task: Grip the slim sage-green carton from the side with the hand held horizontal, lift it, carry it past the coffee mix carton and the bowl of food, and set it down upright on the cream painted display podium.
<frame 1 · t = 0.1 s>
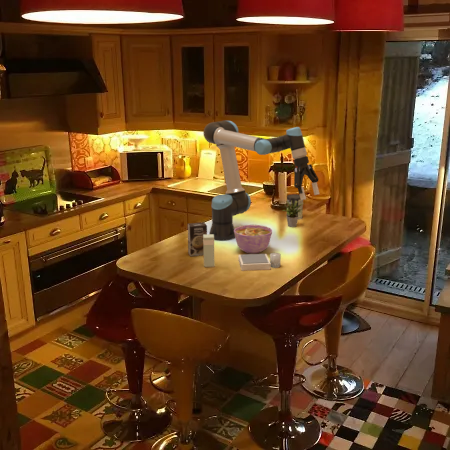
hand: (310, 197, 279), 28 cm above the breakfast bar, tool tilted 20°, fingers open, 13 cm apart
podium: (254, 264, 263), on the breakfast bar
coffee can: (294, 217, 344), on the breakfast bar
house plant: (293, 227, 325), on the breakfast bar
coffee box: (197, 254, 279), on the breakfast bar
white rounded capsule: (275, 266, 261), on the breakfast bar
bowl of food: (252, 251, 282), on the breakfast bar
slim carton: (209, 265, 263), on the breakfast bar
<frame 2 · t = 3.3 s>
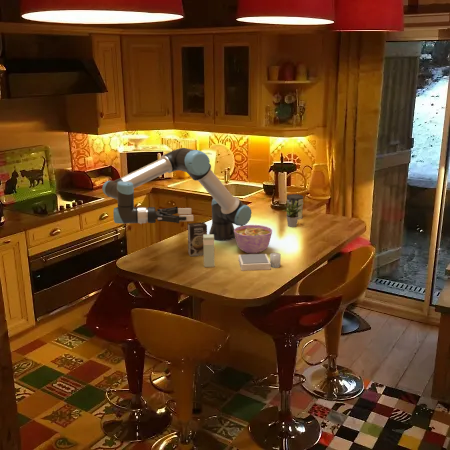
hand: (192, 214, 255), 26 cm above the breakfast bar, tool horizontal, fingers open, 13 cm apart
nothing on the breakfast bar moved.
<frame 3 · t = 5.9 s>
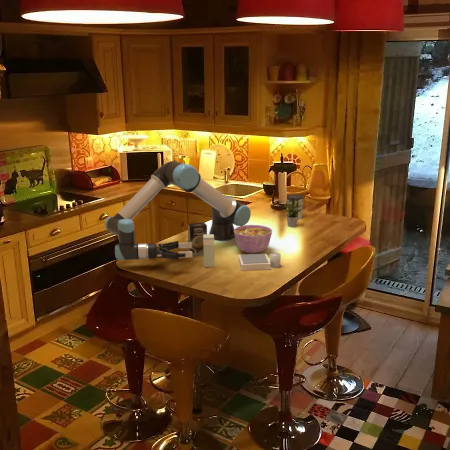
hand: (192, 249, 260), 8 cm above the breakfast bar, tool horizontal, fingers open, 13 cm apart
nothing on the breakfast bar moved.
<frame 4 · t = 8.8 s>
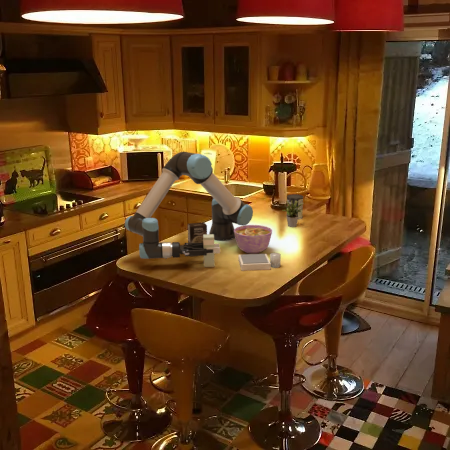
hand: (219, 248, 261), 9 cm above the breakfast bar, tool horizontal, fingers closed on slim carton, 5 cm apart
slim carton: (209, 265, 263), on the breakfast bar, touching gripper
everything else where it was.
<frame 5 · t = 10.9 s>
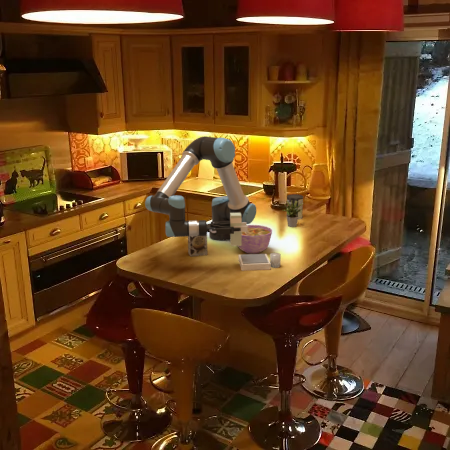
hand: (246, 226, 256), 20 cm above the breakfast bar, tool horizontal, fingers closed on slim carton, 5 cm apart
slim carton: (235, 244, 258), point 11 cm above the breakfast bar, touching gripper
everything else where it was.
when the fingers open (13 cm above the breakfast bar, at t = 13.5 s): slim carton stays where it is, resting on podium.
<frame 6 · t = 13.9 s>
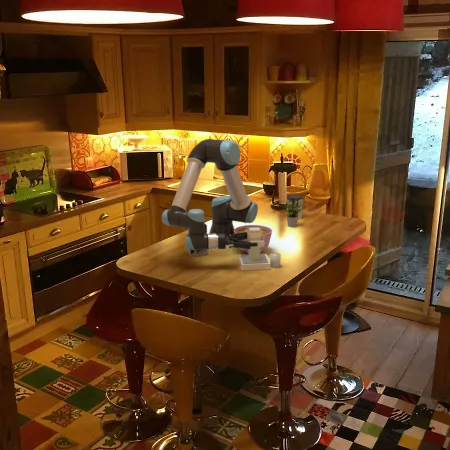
hand: (262, 239, 260), 13 cm above the breakfast bar, tool horizontal, fingers open, 11 cm apart
slim carton: (254, 258, 262), point 3 cm above the breakfast bar, touching podium
everything else where it was.
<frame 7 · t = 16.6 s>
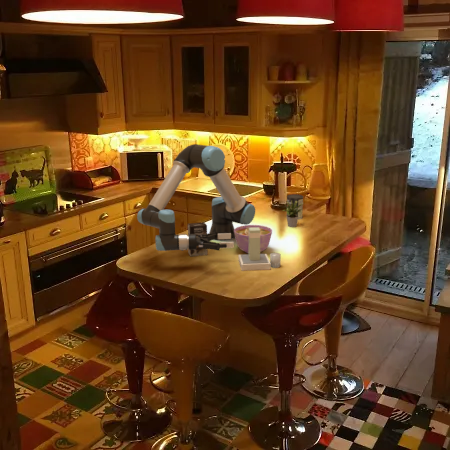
hand: (232, 240, 259), 13 cm above the breakfast bar, tool horizontal, fingers open, 13 cm apart
nothing on the breakfast bar moved.
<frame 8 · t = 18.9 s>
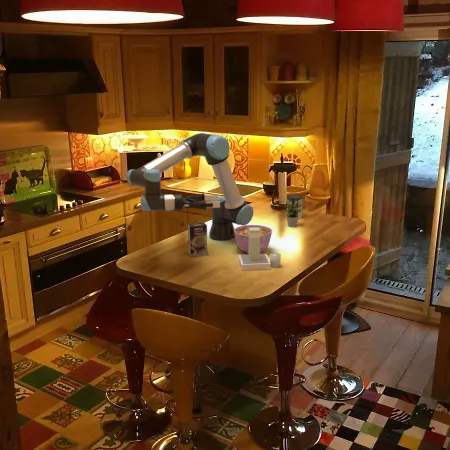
hand: (219, 200, 256), 32 cm above the breakfast bar, tool horizontal, fingers open, 13 cm apart
nothing on the breakfast bar moved.
at the end: slim carton inside the target area on the podium (0.0 cm from its centre), point 3.4 cm above the podium's base; slim carton tilted 0°; the gripper is holding nothing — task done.
